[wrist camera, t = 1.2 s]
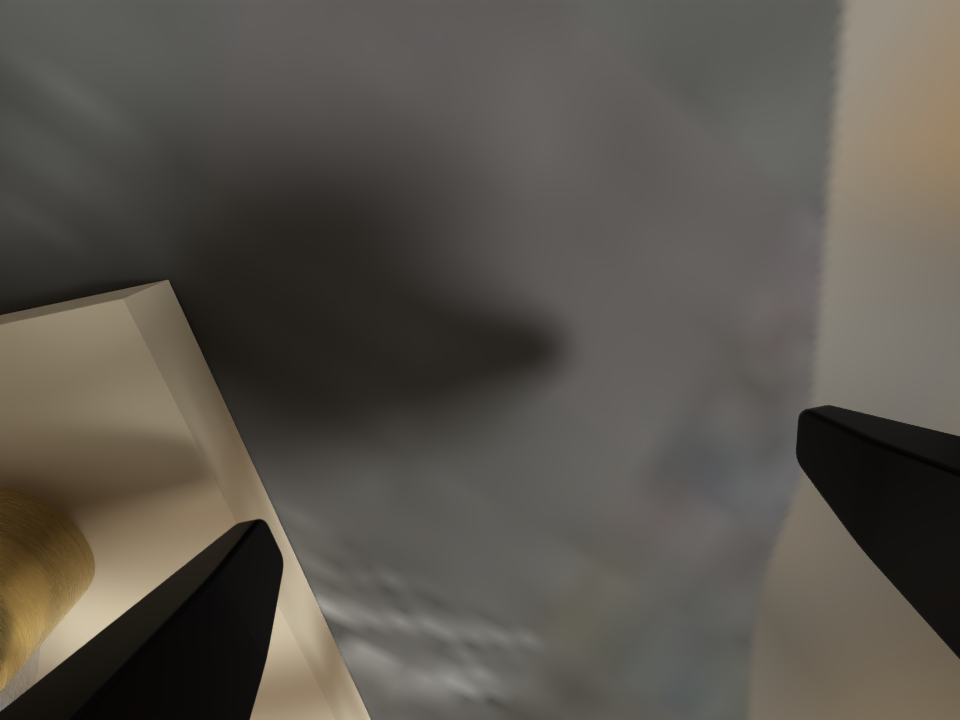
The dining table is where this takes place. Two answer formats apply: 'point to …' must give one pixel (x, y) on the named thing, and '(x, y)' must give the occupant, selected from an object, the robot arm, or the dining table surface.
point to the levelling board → (148, 476)
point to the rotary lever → (35, 583)
